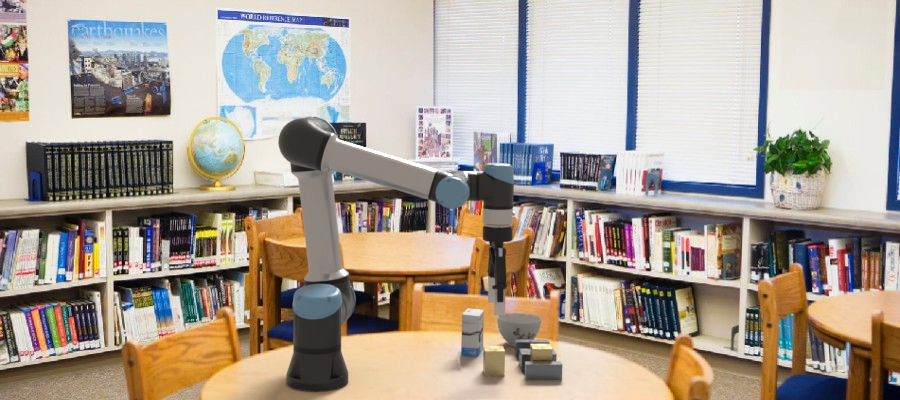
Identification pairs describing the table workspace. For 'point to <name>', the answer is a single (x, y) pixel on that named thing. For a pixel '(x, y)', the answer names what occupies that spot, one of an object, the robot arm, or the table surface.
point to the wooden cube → (541, 352)
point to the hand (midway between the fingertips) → (496, 308)
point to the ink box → (472, 332)
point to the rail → (537, 362)
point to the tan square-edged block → (493, 361)
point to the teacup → (518, 326)
